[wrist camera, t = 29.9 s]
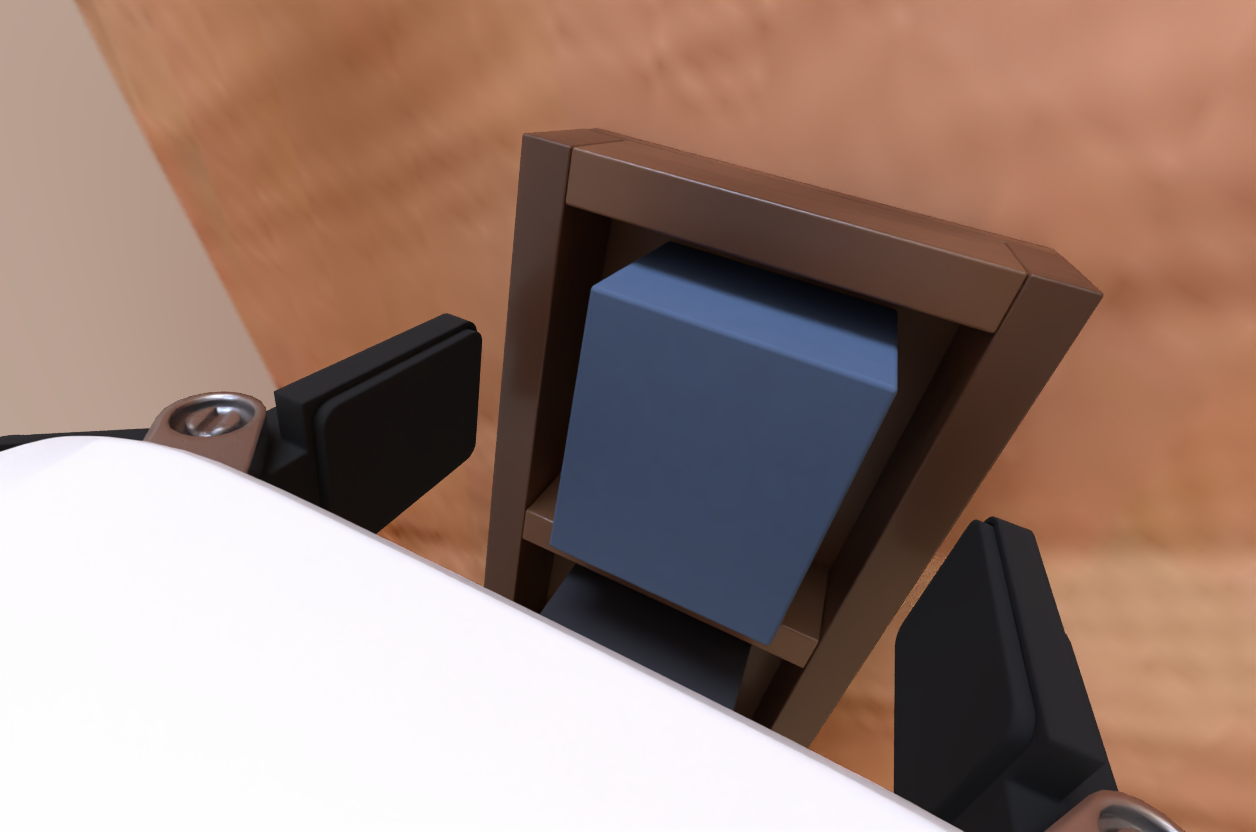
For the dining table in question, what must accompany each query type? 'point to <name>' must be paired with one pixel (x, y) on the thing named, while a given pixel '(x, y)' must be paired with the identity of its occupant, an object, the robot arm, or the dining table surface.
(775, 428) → the blue rectangular block
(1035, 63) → the dining table surface
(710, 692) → the dark grey rectangular block
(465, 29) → the dining table surface
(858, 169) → the dining table surface
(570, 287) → the brown divided wooden tray
